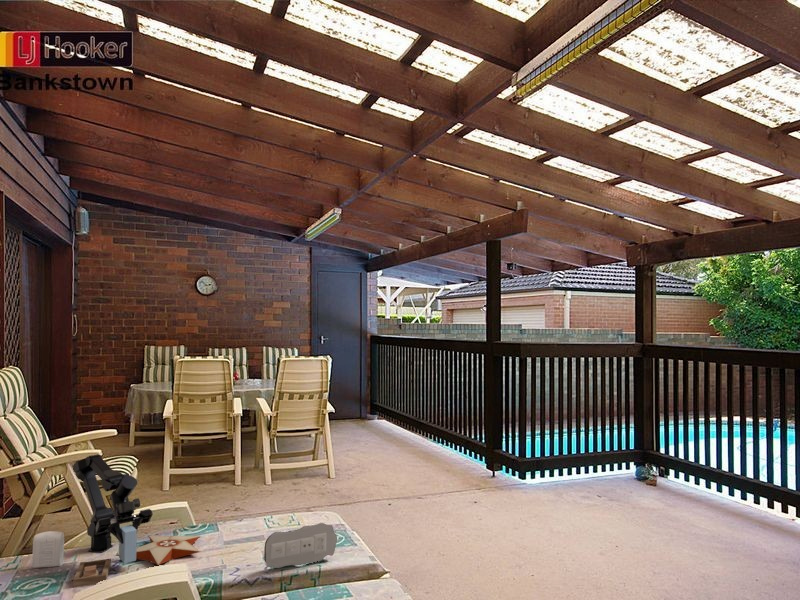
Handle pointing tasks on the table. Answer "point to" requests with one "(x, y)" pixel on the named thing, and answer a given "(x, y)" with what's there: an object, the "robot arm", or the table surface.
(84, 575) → the pine offcut
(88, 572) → the cedar offcut
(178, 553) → the decorative star
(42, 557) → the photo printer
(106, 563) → the brown hollow square frame
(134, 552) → the slate panel
